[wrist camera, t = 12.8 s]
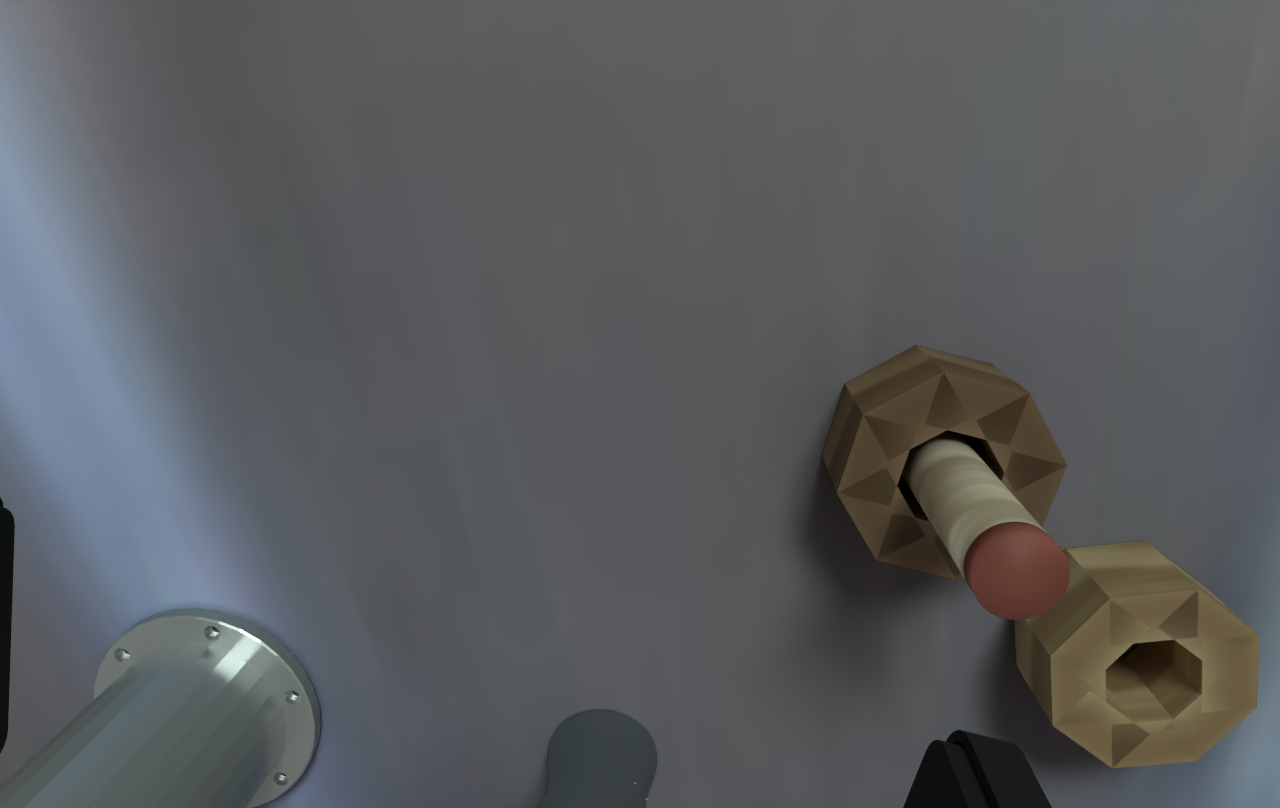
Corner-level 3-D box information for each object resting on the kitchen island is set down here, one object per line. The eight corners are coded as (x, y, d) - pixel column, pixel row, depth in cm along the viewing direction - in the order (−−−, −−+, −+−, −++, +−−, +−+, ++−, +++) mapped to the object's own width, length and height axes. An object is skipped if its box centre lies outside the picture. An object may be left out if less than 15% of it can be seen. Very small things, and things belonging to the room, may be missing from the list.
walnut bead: (980, 546, 45) (1014, 594, 40) (806, 502, 45) (818, 546, 40) (1046, 377, 42) (1090, 408, 37) (861, 331, 42) (882, 356, 37)
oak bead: (1197, 692, 46) (1255, 756, 41) (1018, 708, 47) (1054, 773, 42) (1200, 534, 44) (1261, 582, 39) (1011, 554, 45) (1048, 604, 40)
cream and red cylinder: (942, 480, 44) (1049, 629, 30) (879, 464, 44) (958, 606, 30) (964, 419, 43) (1085, 547, 29) (900, 403, 43) (991, 523, 29)
